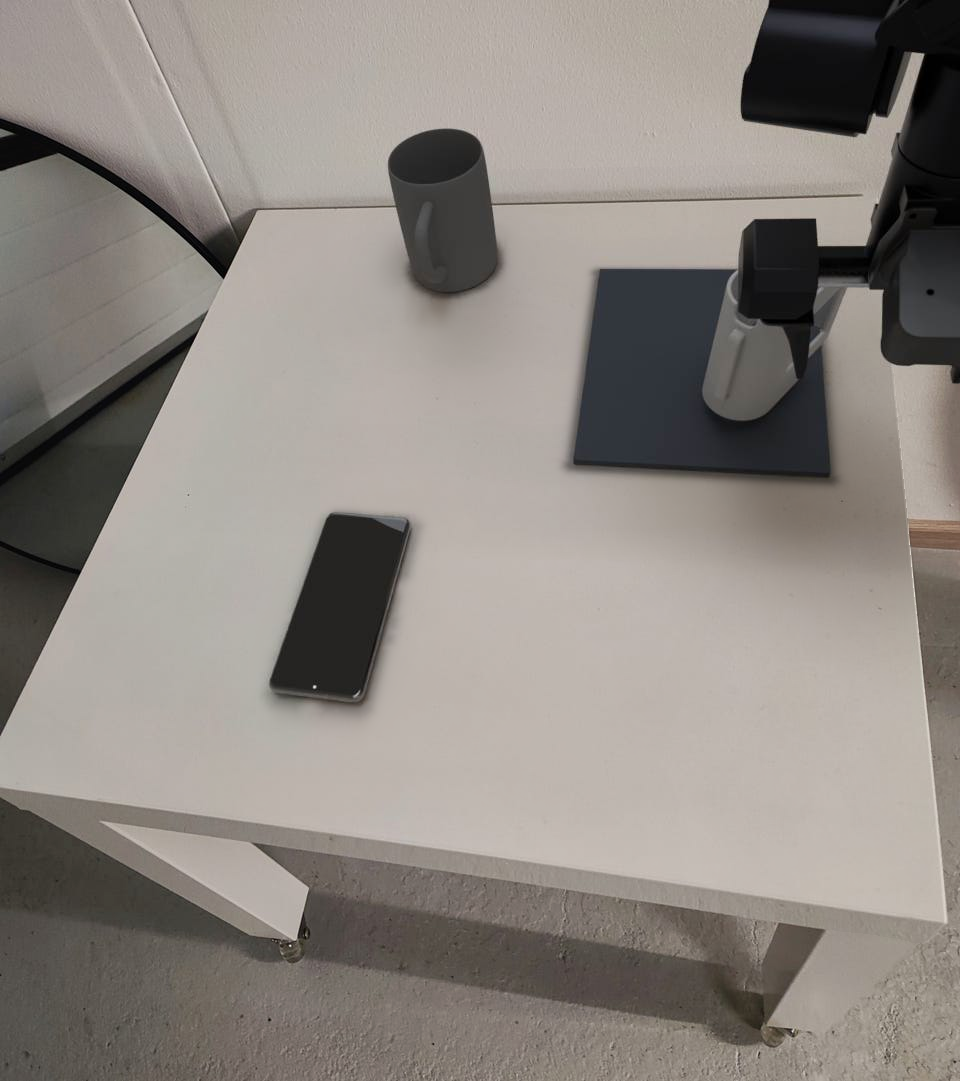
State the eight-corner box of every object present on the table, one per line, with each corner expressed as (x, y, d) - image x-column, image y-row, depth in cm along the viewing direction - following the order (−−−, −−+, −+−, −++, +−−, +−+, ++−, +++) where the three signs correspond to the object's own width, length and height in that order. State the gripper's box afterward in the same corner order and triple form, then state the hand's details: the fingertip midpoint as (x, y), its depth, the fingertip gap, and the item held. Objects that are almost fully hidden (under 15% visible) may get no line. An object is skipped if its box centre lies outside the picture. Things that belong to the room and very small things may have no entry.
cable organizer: (823, 359, 69) (871, 242, 59) (740, 447, 65) (776, 337, 55) (756, 325, 72) (790, 207, 62) (672, 407, 68) (694, 295, 57)
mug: (422, 236, 87) (398, 128, 77) (505, 236, 85) (492, 125, 75) (392, 324, 80) (361, 218, 70) (482, 326, 78) (464, 217, 68)
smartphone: (411, 516, 65) (360, 700, 56) (414, 524, 66) (364, 706, 57) (326, 510, 67) (264, 688, 58) (330, 517, 67) (269, 694, 59)
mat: (814, 274, 76) (815, 269, 75) (829, 477, 63) (830, 472, 63) (599, 273, 80) (599, 268, 79) (573, 464, 67) (573, 459, 67)
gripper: (759, 253, 37) (721, 467, 49) (1243, 252, 33) (1065, 485, 45) (758, 116, 42) (724, 339, 55) (1168, 101, 38) (1029, 346, 51)
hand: (875, 376), depth 52 cm, fingers open, 9 cm apart
